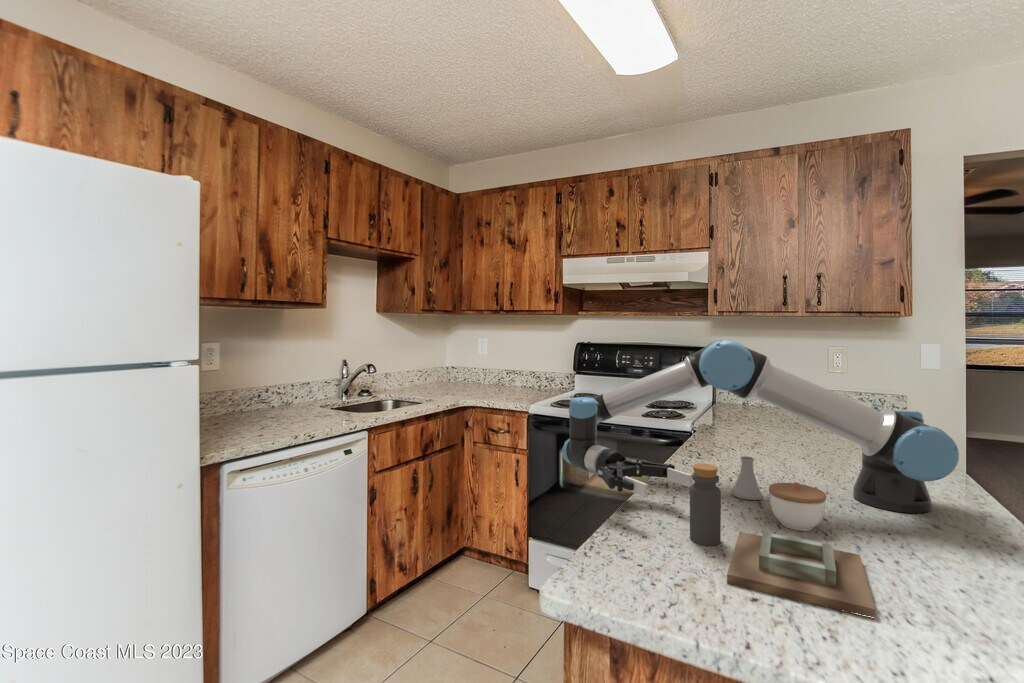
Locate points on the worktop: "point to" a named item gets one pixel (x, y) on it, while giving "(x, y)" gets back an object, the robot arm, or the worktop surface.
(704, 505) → the bottle
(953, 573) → the worktop surface
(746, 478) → the flask
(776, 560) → the socket board
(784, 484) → the lidded jar
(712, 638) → the worktop surface
